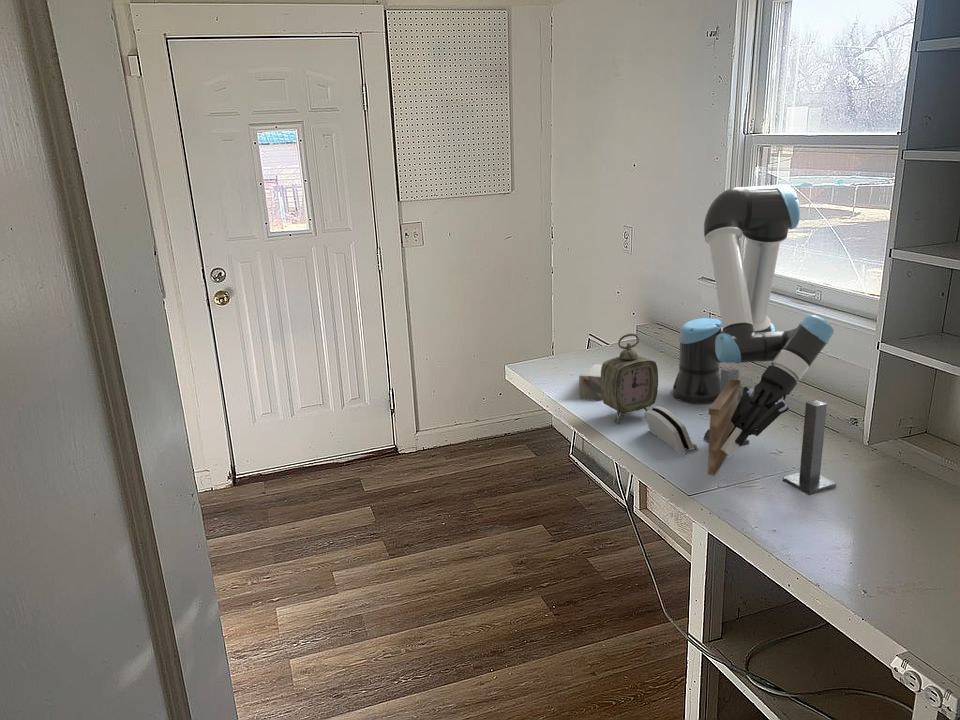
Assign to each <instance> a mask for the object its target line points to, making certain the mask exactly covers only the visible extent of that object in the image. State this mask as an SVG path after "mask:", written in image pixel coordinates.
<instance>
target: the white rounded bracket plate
mask: <svg viewBox="0 0 960 720" xmlns="http://www.w3.org/2000/svg"><path fill="white" fill-rule="evenodd" d="M647 410H648V411H645V412H644V414H645V418H646V422H647V425H648V429H649V431H650V432H651V433H652V434H653V433H654V434H653V435H655V436H656V435H657V436H656V437H658V438H659V439H660V438H661V439H660V440H662V441H663V442H664V441H665V442H664V443H665V444H667V443H668V444H667V445H669V446H670V447H672V448H673V449H674V450H675V449H676V450H675V451H677V452H678V453H679V452H680V454H681V455H684V454H686V453H687V451H688V450H689V451H692V450H693V448H694V450H695V451H696V452H698V451H699V447H698V445H697V444H696V443H694V442H693V441H692V440H691V437H690V435H689V433H688V430H687V428H686V425H685V424H684V422H682V421H681V420H680V419H679V418H678V417H677V416H676V415H675V414H674V413H673V412H671V411H670V410H668V409H667V408H665V407H663V406H658V405H657V406H653V407H652V408H651V409H647ZM683 453H684V454H683Z"/></svg>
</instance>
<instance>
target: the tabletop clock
mask: <svg viewBox="0 0 960 720" xmlns="http://www.w3.org/2000/svg"><path fill="white" fill-rule="evenodd" d="M627 337H636V339H637V340H636V342H635V343H634V344H631V343H627V344H626V346H623V345H621V341H622V340H623V339H625V338H627ZM639 342H640V337H639V335H637V334H635V333H627V334H625V335H623V336H621V337H620V338H619V340H618V343H617V344H618V347H619V348H620V349H623V350H622V351H621V352H620V353H619V356H617V357H612V358H609V359H608V360H606V361H604V362H603V363H602V368H601V380H600V383H601V395H602V399H603V401H602V402H603V404H604V405H606V406H608V407H609V408H611V409H614V410H615V411H616V418H615V419H614V423H615V424H617V425H618V424H620V423H621V419H620V415H621V416H625V415H626V413H631V412H638V411H641V410H644V411H645V412H646V411H648V410H649V409H648V408H649V407H651V406H652V405H654V404H655V402H656V400H657V397H658V387H659V371H658V366H657V365H658V364H657V362H656V361H654V360H653V359H652V360H651V359H649V358H646V357H644V356H642V355H639V354H638V353H637V351H636V350H635V349H632V348H634V347H636V346H637V345H638V344H639Z"/></svg>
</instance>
